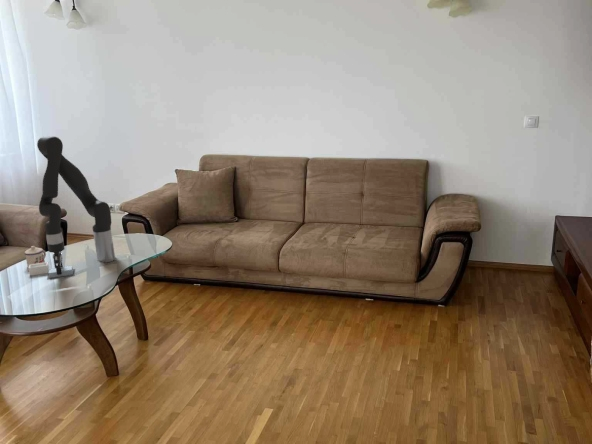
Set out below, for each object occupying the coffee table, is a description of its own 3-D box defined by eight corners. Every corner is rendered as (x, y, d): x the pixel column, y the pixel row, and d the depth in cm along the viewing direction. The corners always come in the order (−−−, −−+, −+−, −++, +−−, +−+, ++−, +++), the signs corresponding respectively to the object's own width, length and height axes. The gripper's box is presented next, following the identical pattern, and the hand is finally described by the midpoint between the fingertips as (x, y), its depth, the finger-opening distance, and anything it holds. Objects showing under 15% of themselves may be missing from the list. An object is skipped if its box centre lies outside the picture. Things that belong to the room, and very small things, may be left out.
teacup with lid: (36, 270, 294) (32, 249, 291) (23, 269, 297) (19, 248, 294) (53, 262, 305) (49, 242, 302) (40, 261, 308) (36, 241, 305)
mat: (75, 270, 291) (75, 268, 291) (74, 277, 282) (74, 275, 282) (48, 274, 287) (48, 272, 287) (47, 281, 278) (46, 279, 278)
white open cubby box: (49, 270, 293) (48, 261, 291) (49, 274, 288) (47, 265, 286) (31, 273, 290) (29, 264, 289) (30, 277, 285) (28, 268, 284)
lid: (73, 270, 289) (72, 265, 288) (72, 274, 283) (71, 269, 283) (50, 273, 286) (49, 269, 285) (49, 277, 280) (48, 273, 279)
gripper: (62, 244, 274) (67, 275, 279) (64, 236, 287) (68, 266, 292) (45, 246, 272) (50, 277, 276) (48, 238, 285) (53, 268, 289)
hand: (60, 271), depth 284 cm, fingers open, 8 cm apart
